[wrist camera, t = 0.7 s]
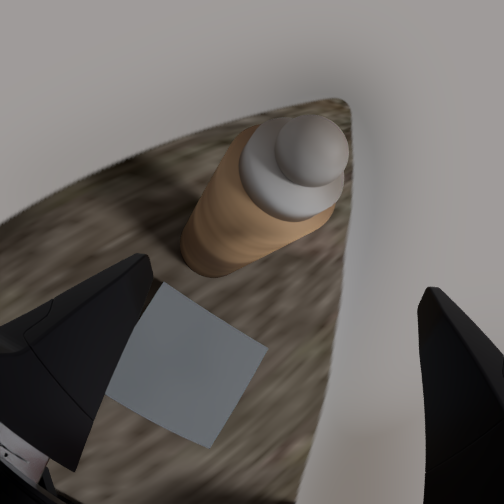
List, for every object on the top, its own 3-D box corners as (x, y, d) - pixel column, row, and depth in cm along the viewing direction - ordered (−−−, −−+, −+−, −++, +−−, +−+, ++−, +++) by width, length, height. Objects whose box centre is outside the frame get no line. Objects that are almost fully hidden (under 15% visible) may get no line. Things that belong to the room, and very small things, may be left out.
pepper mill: (223, 290, 22) (367, 239, 8) (166, 252, 21) (226, 128, 7) (255, 237, 24) (398, 140, 10) (203, 201, 23) (299, 56, 9)
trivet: (207, 444, 19) (209, 448, 18) (99, 386, 17) (97, 389, 17) (264, 347, 22) (268, 348, 22) (162, 282, 21) (163, 281, 20)
